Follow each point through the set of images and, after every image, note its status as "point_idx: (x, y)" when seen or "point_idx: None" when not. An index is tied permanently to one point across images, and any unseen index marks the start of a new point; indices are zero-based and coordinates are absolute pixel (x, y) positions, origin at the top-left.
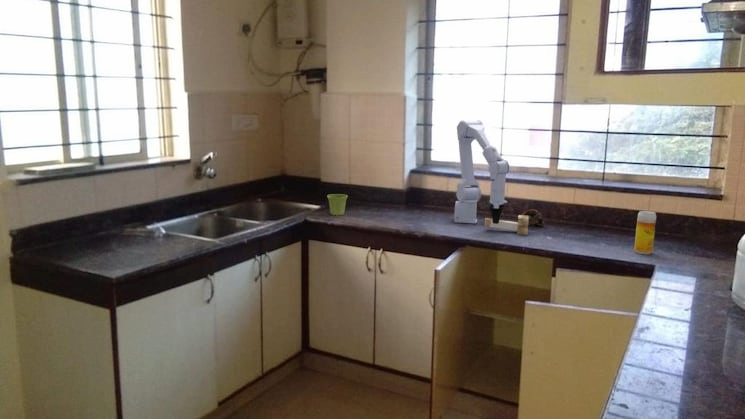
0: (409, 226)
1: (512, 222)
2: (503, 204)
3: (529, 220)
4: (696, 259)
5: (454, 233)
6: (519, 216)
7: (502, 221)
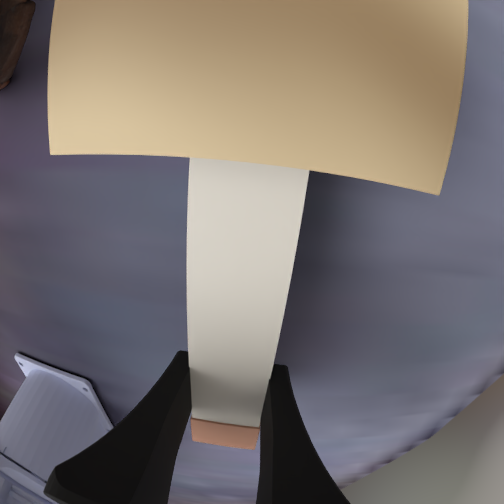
0: (245, 499)
1: (249, 224)
2: (48, 496)
3: (4, 8)
4: None
5: (342, 455)
6: (198, 128)
7: (258, 348)
